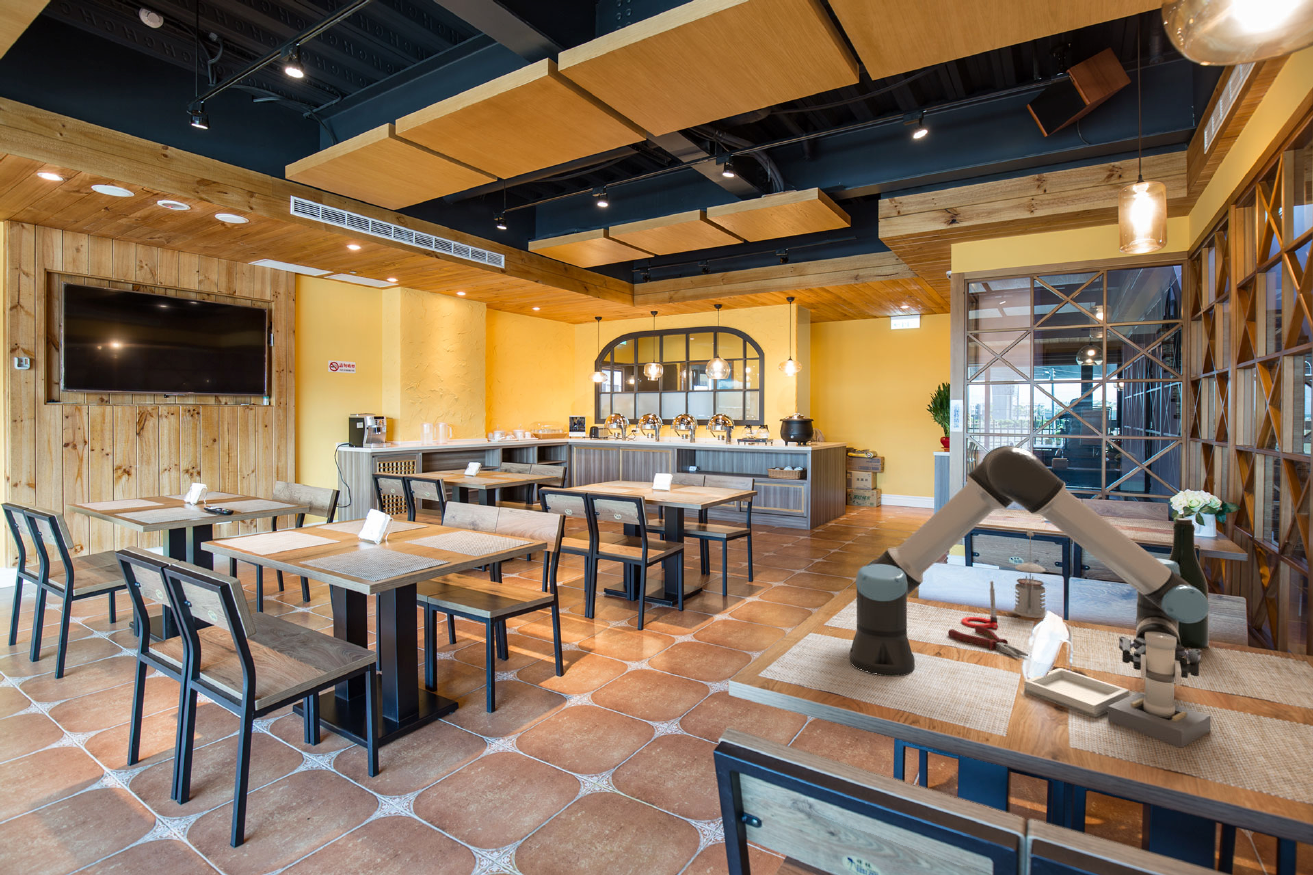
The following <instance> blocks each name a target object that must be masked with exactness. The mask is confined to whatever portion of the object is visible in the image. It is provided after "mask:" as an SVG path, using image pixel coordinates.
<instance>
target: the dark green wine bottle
mask: <svg viewBox="0 0 1313 875" xmlns="http://www.w3.org/2000/svg"><path fill="white" fill-rule="evenodd" d="M1172 529H1173V530H1172V531H1173V537H1172V538H1173V539H1172V540H1173V541H1172V549H1171V552H1170V555H1169V558H1168V560H1171V561H1174V562H1176V563H1177V564H1178V565H1179V570H1180V574H1181V576H1180V577H1181V578H1182V579H1183V580H1185V581H1186V582H1187V583H1189V584H1190V585H1191V586H1193V587H1195V588H1197V589H1198V590H1199V591H1201V592H1202V593H1203V594H1204V595H1205V597H1206V598H1207V600H1208V602H1209V603H1210V601H1209V585H1208V581H1207V579H1206V576H1205V574H1204V570H1203V569H1202V566H1201V565H1200V561H1199V560H1198V557H1197V553H1196V546H1195V544H1196V543H1195V530H1196V527H1195V525H1194V524H1193V519H1190V518H1183V517H1182V518H1181V517H1180V518H1179V517H1178V518H1175V523H1173V526H1172ZM1209 612H1210V611H1209ZM1209 612H1208V614H1207V615H1206V617H1204V619H1202V620H1200V621H1198V622H1195V623H1183V622H1179V621H1178V632H1179V637H1180V643H1181V646H1183V647H1184V648H1185V649H1198V650H1200V649H1204V648H1205V649H1206V648H1207V647H1208V646H1209V643H1210V616H1209V615H1210V613H1209Z"/></svg>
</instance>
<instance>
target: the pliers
mask: <svg viewBox="0 0 1313 875" xmlns="http://www.w3.org/2000/svg"><path fill="white" fill-rule="evenodd" d="M974 630H975V633H978V634H980V635H983V636H985V637H987V638H984V637H980V636H977V635H971V634H966V633H963V632H959V631H958V630H955V629H953V628H951V629H949V630H948V633H947V634H948V637H949V638H951V639H954V640H956V641H958V642H960V643H965V644H969V645H974V646H979V647H982V648H987V649H989V651H994V650H997V651H999V652H1001V653H1003V654H1007V655H1009V656H1012V657H1014V658H1018V659H1020V658H1021V657H1020V656H1023V657H1024V656H1025V657H1029V656H1028V655H1029V654H1028V653H1026V652H1024V651H1022V650H1020V649H1018V648H1016V647H1015V646H1013V645H1010V644H1009V642H1008V640H1007V639H1005V638H999V636H997V634H996V633H995V632H994V631H993V630H991V629H988V628H984V627H981V626H976V627H975V628H974Z"/></svg>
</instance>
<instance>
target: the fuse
mask: <svg viewBox="0 0 1313 875" xmlns="http://www.w3.org/2000/svg"><path fill="white" fill-rule="evenodd" d="M1145 643H1146V679H1144V681H1145V682H1144V694H1145V698H1144V705H1143V709H1144V710H1145V711H1146V712H1147V713H1149V714H1152V715H1155V716H1159V717H1164V718H1172V717H1173V716H1175V705H1174V704H1175V649H1176V644H1177V638H1176V637H1175V636H1172V635H1170V634H1166V633H1161V632H1145Z"/></svg>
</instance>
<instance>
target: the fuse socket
mask: <svg viewBox="0 0 1313 875" xmlns="http://www.w3.org/2000/svg"><path fill="white" fill-rule="evenodd" d="M1144 698H1145V693H1141V692H1135V693H1133V694H1131V695H1129V697H1127V698H1124V699H1122V700H1120V701H1118V702H1116V703H1113V704H1111V705H1109V706H1108V712H1107V721H1108V722H1110V723H1112V724H1116V725H1118V726H1121V727H1123V728H1126V729H1129V730H1131V731H1135V732H1137V733H1140V734H1143V735H1146V736H1148V737H1151V738H1154V739H1156V740H1159V741H1162V742H1165V743H1168V744H1170V745H1173V746H1175V747H1178V748H1180V749H1182V748H1184V747H1185V746H1187V745H1189V744H1191V743H1192V742H1194V741H1196V740H1197V739H1200V738H1201V737H1203V736H1205V735H1206V734H1208V733H1210V732H1211V724H1212V722H1211V721H1212V720H1211V718H1212V717H1211V715H1210V714H1207V713H1203V712H1200V711H1197V710H1194V709H1191V708H1188V707H1185V706H1182V705H1178V704H1175V703H1174V705H1175V716H1173V717H1172V718H1164V717H1159V716H1155V715H1152V714H1149V713H1147V712H1146V711H1145V710H1144V709H1143V705H1144Z"/></svg>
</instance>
